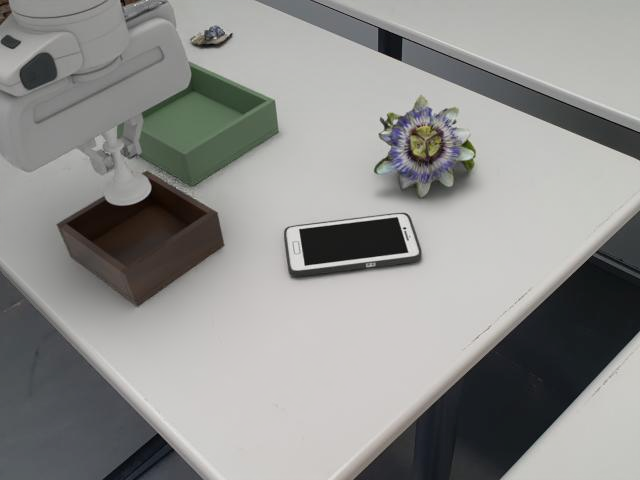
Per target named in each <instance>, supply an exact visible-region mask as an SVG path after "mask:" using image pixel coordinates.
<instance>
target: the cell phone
mask: <svg viewBox="0 0 640 480" xmlns="http://www.w3.org/2000/svg"><path fill="white" fill-rule="evenodd" d="M283 241H284V246H285V254H286V262H287V269H288V272H289V275H291V276H293V277H303V276H304V277H305V276H313V275H320V274H328V273H337V272H345V271H351V270H358V269H359V270H360V269H366V268H367V269H368V268H374V267H385V266H393V265H399V264H400V265H401V264H407V263H408V264H409V263H415V262H418V261H420V260H421V259H422V254H423V253H422V247H421V245H420V242H419V239H418V235H417V232H416V229H415V227H414V223H413V220H412V218H411V216H410V214H409V213H407V212H392V213H386V214H385V213H384V214H377V215H367V216H361V217H351V218H344V219H336V220H327V221H319V222H311V223H304V224H303V223H301V224H295V225H290V226H289V225H288V226H287V227H285V229H284V230H283Z"/></svg>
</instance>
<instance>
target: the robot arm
mask: <svg viewBox="0 0 640 480" xmlns="http://www.w3.org/2000/svg"><path fill="white" fill-rule="evenodd" d="M8 5H9V7H10V11H11V13H10V14H8V16H7V17H6V18H5V20H4V21H3V22H2V23H0V155H1V157H2V158H3V159H4V160H5V161H6V162H7V163H9V164H10V165H11V166H13V167H14V168H16V169H19V170H21V171H24V172H27V173H33V172H35V171H37V170H38V169H40V168H42V167H44V166H46V165H48V164H49V163H51V162H53V161H55V160H57V159H58V158H61V157H62V156H64V155H66V154H68V153H70V152H71V151H73V150H75V149H77V150H79V151H80V152H81V153H83V154H84V155H85V156H87V157H88V158H89V160H90V163H91V166H92V168H93V170H94V171H95V172H96V173H97V174H99V175H100V176H101V177H103V176H105V175H106V174H108V173H110V172H112V171H114V169H115V166H114V164H113V163H112V162H113V160H112V157H111V153H109V152H105V151H104V150H103V149H101V148H100V149H97V150H96V151H95V150H94V148H96V147H97V141H96V139H95V138H97V137H99V136H102V135H101V134H103V133H105V132H107V131H108V130H110V129H112V128H114V127H116V126H118V125H119V124H121V123H123V122H124V129H123V137H121V138H120V139H121V140H122V141H123V142H124V147H123V148H122V149H121V150H120V151H121V154H122V156H123V158H127V160H132V159H134V158H136V157H137V156H139V154H141V153H142V151H141V147H140V144H139V138H140V134H141V130H142V126H143V122H144V120H143V116H142V112H143V111H145V110H147V109H149V108H151V107H153V106H154V105H156V104H158V103H160V102H162V101H164V100H166V99H167V98H169V97H171V96H173V95H175V94H177V93H178V92H180V91H182V90H184V89H186V88H187V87H188V85H189V82H190V79H191V69H190V66H189V62H190V61H189V60H188V56H187V53H186V50H185V47H184V44H183V42H182V39H181V37H180V34H179V32H178V30H177V19H176V15H175V12H174V8H173V6H172V3H170V1H169V0H138V1H136V2H131V3H129V4H126V5H124V6H122V3H121V0H8Z"/></svg>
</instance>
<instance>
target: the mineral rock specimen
mask: <svg viewBox="0 0 640 480" xmlns="http://www.w3.org/2000/svg"><path fill="white" fill-rule="evenodd" d="M219 26H220V25H214V26H210V28H209V30H206V29H204V30H205V31H204V30H203V31H204V35H201V34H202V33H203V32H200V31H198V33H194V35H193V36H192V37H191V38H190V39H189V41H190V42H191V43H192V44H194V45H196V44H197V45H199V46H201V45H204V44H205V45H210V44H214V45H218V44H221V43H222V42H224V41H225V40H226V39H227V38H229V37H230V36H228V35H227V34H225V32H224V31H223V29H221V28H220V27H219Z"/></svg>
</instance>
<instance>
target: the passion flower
mask: <svg viewBox="0 0 640 480" xmlns="http://www.w3.org/2000/svg"><path fill="white" fill-rule="evenodd" d="M459 111H460V109H459V107H458V106H452V107H450V108H448V107H446V108H444V109H442V110H441V111H439V112H438V113H436V112H435V113H433V114H432V112H433V108H432V107H431V106H430V104H429V101H428V99H427V98H426V97H425V96H424V95H422V94H420V95H419V97H417V99H416V100H415V102H414V105H413V107H412V109H411V110H409V111H408V112H406V113H405V114H404V115H400V114H398V113H396V112H392V111H390V112H388V113H387V114H386V116H387V118H386V119H384V118H383V117H382V116H380V117H379V122H380V123H381V124H382V126H383V130H382V131H380V132H379V133H378V138H379V139H380V140H381V141H383V142H384V143H385V144H387V145H388V146H390V149H389V151H388V152H387V156H385V157H384V158H382V159H381V160H379V162H377V163H376V164H375V166H374V169H373V172H374V174H375V175H382V176H383V175H387V174H389V173H392V172H396V173H397V174H398V184H399V188H400V190H401V191H404V190H406V189H408V188H409V187H414V188H415V190H416V195H417V196H418V197H419V198H423V197H425V196H426V195H428V193H429V190H430V188H431V185H432V182H434V181H438V182H439V183H440V184H441V185H442V186H444V187H446V188H451V187H452V186H453V184H454V181H455V177H454V170H457V168H456V166H455V164H456V163H458V162H460V163H462V165H463V166H464V168H465V170H466V172H467V173H471V171H472V170H473V169H474V167H475V160H474V159H475V158H476V155H477V150H476V149H475V147H474V145H473V143H472V142H471V141H470V140H469V139H470V137H471V135H472V132H471V131H470V130H469V129H466V128H459V127H457V126H455V127H453V125H456V124H457V122H458V121H457V119H456V118H457V117H458V114H459V113H460V112H459ZM395 120H397V122H395V123H394V121H395Z"/></svg>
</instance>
